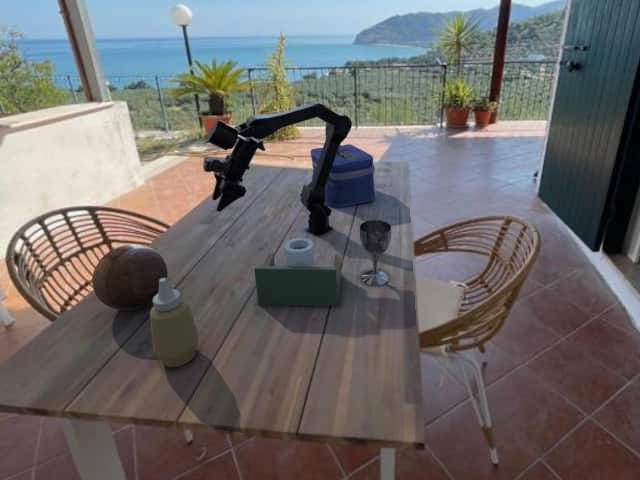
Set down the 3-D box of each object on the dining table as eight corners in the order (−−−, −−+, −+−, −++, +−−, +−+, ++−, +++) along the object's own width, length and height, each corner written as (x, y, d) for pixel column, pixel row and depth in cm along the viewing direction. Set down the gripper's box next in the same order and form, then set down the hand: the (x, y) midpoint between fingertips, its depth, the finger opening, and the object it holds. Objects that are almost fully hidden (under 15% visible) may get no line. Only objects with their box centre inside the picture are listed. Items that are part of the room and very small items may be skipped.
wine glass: (368, 289, 98) (369, 236, 92) (354, 274, 104) (354, 224, 99) (395, 281, 101) (397, 229, 96) (380, 266, 108) (381, 217, 102)
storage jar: (302, 279, 102) (299, 235, 97) (321, 288, 98) (319, 243, 94) (282, 291, 97) (278, 245, 92) (302, 301, 93) (298, 254, 89)
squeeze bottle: (166, 343, 80) (149, 268, 74) (206, 340, 81) (192, 266, 75) (150, 374, 73) (129, 294, 66) (194, 371, 74) (177, 291, 67)
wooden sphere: (185, 289, 98) (175, 236, 93) (143, 328, 85) (127, 269, 79) (134, 282, 101) (121, 230, 96) (85, 319, 87) (66, 262, 82)
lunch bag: (305, 185, 170) (303, 139, 162) (349, 178, 178) (349, 134, 171) (331, 210, 144) (330, 157, 136) (381, 201, 152) (382, 150, 145)
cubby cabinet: (270, 274, 104) (267, 241, 101) (342, 275, 104) (341, 242, 100) (257, 304, 92) (253, 268, 89) (337, 306, 92) (336, 269, 88)
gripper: (209, 137, 113) (185, 184, 114) (218, 153, 98) (190, 206, 99) (244, 154, 119) (221, 198, 120) (258, 170, 104) (231, 221, 105)
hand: (215, 205), depth 111 cm, fingers open, 9 cm apart
